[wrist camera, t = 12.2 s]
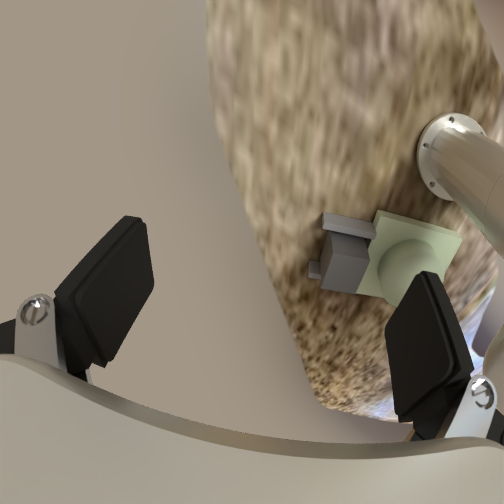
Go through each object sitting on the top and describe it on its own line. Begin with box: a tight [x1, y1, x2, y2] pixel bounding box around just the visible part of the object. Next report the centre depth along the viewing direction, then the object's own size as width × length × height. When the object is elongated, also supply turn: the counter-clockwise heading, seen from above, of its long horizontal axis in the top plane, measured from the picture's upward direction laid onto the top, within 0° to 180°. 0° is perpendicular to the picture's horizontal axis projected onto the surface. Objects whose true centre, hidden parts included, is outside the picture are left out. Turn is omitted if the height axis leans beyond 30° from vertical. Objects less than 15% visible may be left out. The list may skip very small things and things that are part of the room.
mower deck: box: [308, 210, 463, 307], centre depth 38 cm, size 22×14×6 cm, turn 83°
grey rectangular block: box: [320, 230, 370, 294], centre depth 38 cm, size 5×6×7 cm
